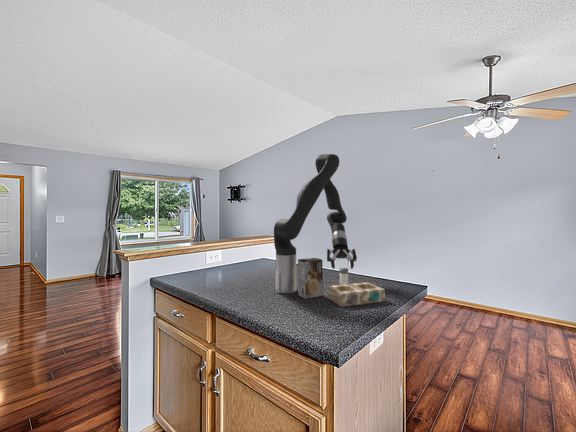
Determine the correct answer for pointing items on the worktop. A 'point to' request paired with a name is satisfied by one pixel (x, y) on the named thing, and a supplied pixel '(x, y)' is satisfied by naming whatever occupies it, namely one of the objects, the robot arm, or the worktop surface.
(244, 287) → the worktop surface
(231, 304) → the worktop surface
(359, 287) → the socket block
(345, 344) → the worktop surface
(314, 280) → the coffee box
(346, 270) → the plug
